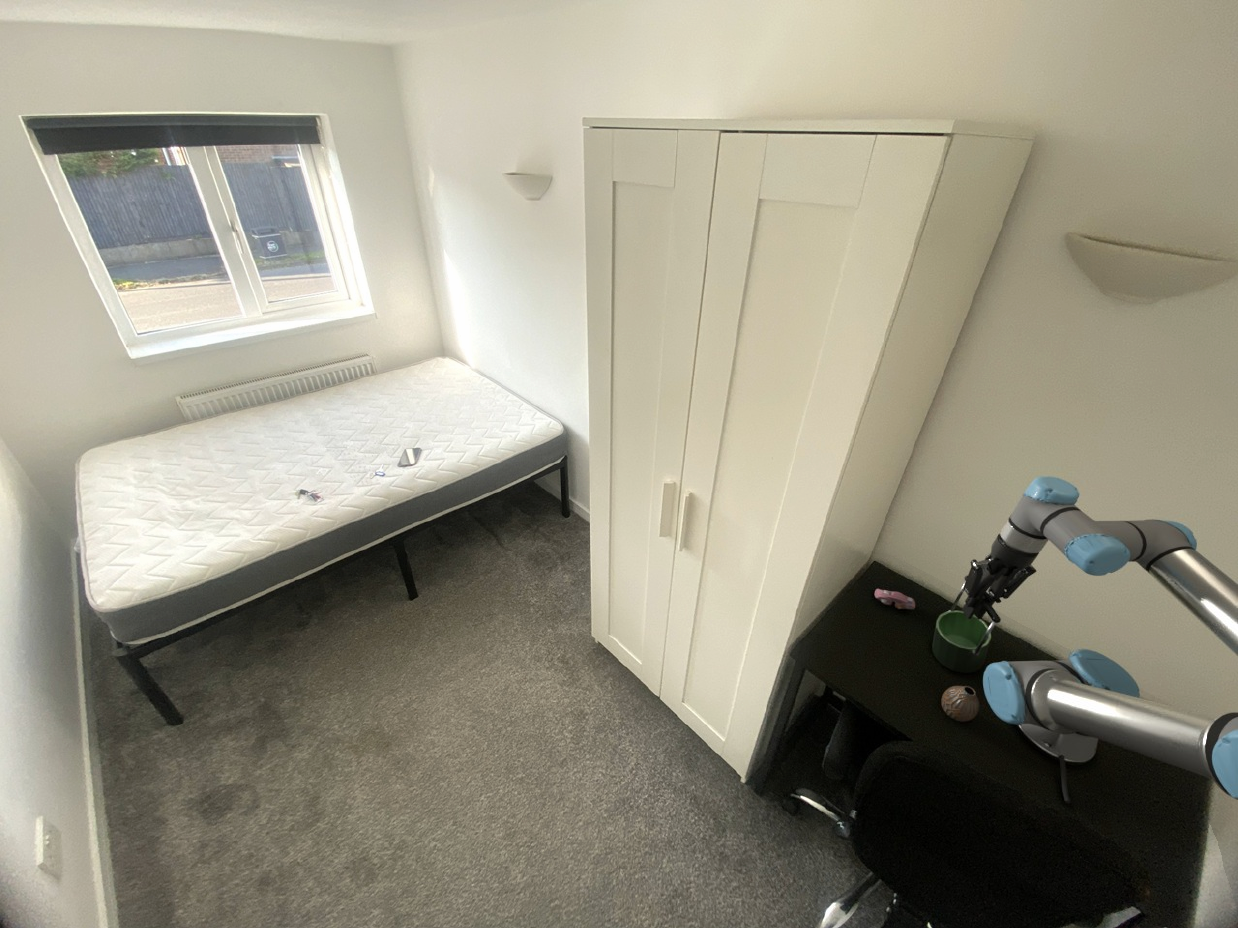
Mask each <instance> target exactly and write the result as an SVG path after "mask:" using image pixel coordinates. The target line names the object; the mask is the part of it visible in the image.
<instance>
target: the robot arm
mask: <svg viewBox="0 0 1238 928" xmlns="http://www.w3.org/2000/svg"><path fill="white" fill-rule="evenodd" d="M1079 498H1080V492H1079V490H1078V488H1077V487H1076V486H1075V485H1074V484H1073V483H1071V482H1069V481H1067V480H1065V479H1062V478H1059V477H1055V476H1050V475H1048V476H1044V475H1043V476H1038V477H1036V478H1034V479H1033V480H1032V482H1031V483H1030V484H1029V486H1027V488H1026V489H1025V491H1023V494H1022V496H1021V497H1020V499H1019V501H1018V502H1017V504H1016V506H1015V508H1014V510H1013V511H1012V513H1011V514H1010V515H1009V517H1008V519H1007V521H1006V522H1005V523H1004V525H1003V527H1002V528H1001V530H1000V533H998V534H997V536H996V538H995V539H994V540H993V542H992V545H991V546H990V547H991V549H990V553H988V555H986V556H984V557H985V558H984V559H983V560H979V561H978V560H977V559H975V558H974V559H971V561H970V570H969V572H968V574H967V575H968V577H967V580H966V582H965V581H964V583H965V585H964V587H963V589H964V592H965V593H966V595H967V597H966V598H965V600H964V603H965V604H964V605H963V607H962V608H961V611H963V612H964V614H965V615H966V617H967V619H971V618H972V617H973V615H975V616H976V617H977V619H981V620H983V617H984V616H985V614H986V613H987V612H986V610H985V609H984V607H983V606H982V604H981V603H982V602H983V600H982V598H981V597H982V596H983V595H985V597H986V598H987V600H988V601H989V603H990V604H991V606H992V607H993V605H994V604H995V603H996V604H1000V603H1002V600H1001V599H1003V600H1007V599H1009V598H1010V597H1011V596H1012V595H1013V594H1014V593H1015V591H1017V590H1018V588H1019V587H1021V585H1022V584H1023V583H1024V582H1025V581H1026V580H1027V579H1028V578H1030V577H1031V576H1032V575H1035V574H1036V573H1037V569H1036V568H1035V567H1034V565H1032V564H1033V563H1034V561H1035V560H1036V559H1037V557H1038V556H1039V554H1040V552H1041V551H1043V549H1044V548H1045V546H1046V545H1047V543H1048V541H1049V542H1050V543H1051V544H1052V545H1054V546H1055V548H1057V549H1058V550H1059V551H1060V552H1061V553H1062V554H1063V555H1064V556H1065V557H1066V559H1067V560H1068V561H1069V562H1071V564H1074V565H1075V566H1077V568H1079V569H1080V570H1081V571H1082V572H1084V573H1085V574H1087V575H1089V576H1094V577H1102V576H1103V577H1104V576H1106V575H1108V574H1113V573H1116V572H1118V571H1119V570H1121V569H1123V567H1125V566H1127V564H1128V563H1131V562H1132V563H1133V562H1134V563H1137V564H1138V565H1139V566H1140V567H1141V568H1142V569H1143V570H1145V571H1146V572H1147V573H1148V574H1149V575H1150V576H1151V577H1152V578H1154V579H1155V580H1156V581H1157V582H1158V583H1159V584H1160V585H1161V586H1162V587H1163V588H1164V589H1165V590H1166V591H1167V592H1169V593H1170V595H1172V597H1174V598H1175V599H1176V600H1177V601H1178V602H1179V603H1180V604H1181V605H1182V606H1183V607H1185V608H1186V609H1187V610H1188V612H1190V613H1191V614H1192V615H1193V616H1194V617H1195V618H1196V619H1197V620H1198V621H1199V622H1201V623H1202V625H1203V626H1205V627H1206V628H1207V629H1208V630H1209V631H1210V632H1211V633H1213V635H1215V636H1216V638H1218V639H1219V640H1220V641H1221V642H1222V643H1223V644H1224V645H1225V646H1226V647H1227V648H1228V649H1230V651H1232V652H1233V653H1234V654H1235V655H1236V656H1237V657H1238V583H1237V582H1236V581H1234V580H1233V579H1232V578H1231V577H1230V576H1228V575H1227V574H1226V573H1225V572H1223V571H1222V570H1221V569H1220V568H1219V567H1217V566H1216V565H1215V564H1213V562H1211V561H1210V560H1209V559H1207V558H1206V557H1205V556H1204V555H1203V554H1201V553H1200V552H1198V551H1197V546H1198V542H1197V538H1196V537H1195V535H1194V532H1193V531H1192V530H1191V529H1190V528H1189V527H1187V526H1186V525H1184V524H1182V523H1181V522H1178V521H1173V520H1162V519H1153V518H1152V519H1139V520H1137V519H1136V520H1094V519H1092V518H1091V517H1090V516H1089V515H1088V514H1087V513H1085V512H1084V511H1082V510H1081V509H1080V508H1079V507H1077V505H1076V503H1077V502H1078V499H1079ZM982 685H983V691H984V696H985V698H986V700H987V703H988V704H989V706H990V708H991V710H992V711H993V713H994V714H995V715H996V716H997V717H998V718H999V719H1000V720H1001V721H1003V722H1005V723H1006V724H1010V725H1014V727H1015V729H1016V730H1017V732H1018V733H1019V734H1020V735H1021V737H1022V738H1023V739H1024V740H1025V741H1026V742H1027V743H1028V744H1029V745H1030V746H1031V747H1032V748H1034V749H1035V750H1036V751H1038V752H1039V753H1040V754H1041V755H1044V756H1045V757H1047V758H1049V759H1050V760H1053V761H1056V762H1058V763H1059V769H1060V779H1061V780H1060V781H1061V790H1062V796H1063V798H1064V802H1065V803H1066V804H1071V798H1070V795H1069V790H1068V778H1067V770H1066V769H1067V768H1066V767H1067V766H1066V765H1068V766H1081V765H1084V764H1086V763H1088V762H1089V761H1090V760H1091V759H1092V758H1093V757H1095V755H1096V752H1097V748H1098V742H1099V740H1100V741H1103V742H1106V743H1108V744H1111V745H1114V746H1117V747H1120V748H1123V749H1126V750H1128V751H1131V752H1133V753H1137V754H1140V755H1142V756H1145V757H1148V758H1151V759H1154V760H1157V761H1160V762H1162V763H1165V764H1168V765H1171V766H1174V767H1177V768H1179V769H1182V770H1185V771H1188V772H1191V773H1194V774H1197V775H1199V776H1203V777H1205V778H1208V779H1211V780H1212V781H1213V782H1214V783H1215V785H1216V786H1217V787H1218V788H1219V789H1220V790H1221V791H1222V792H1223V793H1225V794H1226V795H1228V796H1229V797H1231V798H1232V799H1235V800H1236V801H1238V711H1228V712H1224V713H1221V714H1219V715H1217V716H1216V717H1215V716H1212V715H1207V714H1203V713H1200V712H1196V711H1191V710H1188V709H1183V708H1180V707H1176V706H1173V705H1172V706H1171V705H1168V704H1164V703H1160V702H1156V701H1152V700H1148V699H1144V698H1141V693H1140V688H1139V686H1138V683H1137V681H1136V680H1135V679H1134V678H1133V676H1132V675H1131V674H1130V673H1129V671H1127V670H1126V669H1125V668H1124V667H1122V666H1121V665H1120V664H1118V662H1116V661H1115V660H1113V659H1111V658H1109V657H1107V656H1106V655H1104V654H1102V653H1100V652H1097V651H1094V650H1092V649H1087V648H1078V649H1075V650H1074V651H1072V652H1070V653H1069V654H1068V657H1067V658H1065V659H1062V660H1028V661H1027V660H1021V661H1018V660H1017V661H1007V660H1002V661H999V662H993V663H990V664H989V665H987V666H986V668H985V670H984V672H983V676H982Z"/></svg>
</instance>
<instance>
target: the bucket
mask: <svg viewBox="0 0 1238 928" xmlns="http://www.w3.org/2000/svg"><path fill="white" fill-rule="evenodd" d="M967 577H968V574H967V575H965V576H964V583H963V585H962V586H961V588H960V590H959V592H958V594H957V596H956V597H955V600H954V602H953V603H952V605H951V607H950V609H949V610H948V611H945V612H943V613H941V614H940V615H939V616H938V617H937V619H936V622H935V628H934V635H933V639H932V646H931V647H932V648H931V649H932V653H933V655H934V657H935V659H936V660H937V661H938V662H939V663H940V665H942V666H944V667H945V668H946V669H949V670H951V671H953V672H957V673H960V674H961V673H962V674H970V673H976V672H977V671H979V670H981V669H982V668H983V666H984V664H985V662H986V658H987V654H988V650H989V647H990V643H991V640H992V633H991V632H992V631H993V629H994V628H995V626H996V624H999V623H1001V621H1002V619H1001V617H1000V616H999V614H998V612H997V611H996V610H995V609H994V607H993V605H992V606H991V604H990V603H989V601H988V600H987V598H986V597H985V595H983V596H982V597H981V598H982V600H983V602H982V603H981V604H982V606H983V607H984V609H985V610H986V613H987V615H988V616H989V618H990V619H991V623H990V625H989V626H988V624H987V623H986V621H984V620H983V619H977V617H976V616H975V614H974V615H973V617H972V618H971V619H967V617H966V615H965V614H964V612H963V611H962V610H958V609H957V610H955V609H956V607H957V605H958V603H959V601H960V599H961V598H962V596H963V594H964V592H965V590H964V589H963V587H964V585H965V582H966V580H967Z"/></svg>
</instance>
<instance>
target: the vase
mask: <svg viewBox="0 0 1238 928" xmlns="http://www.w3.org/2000/svg"><path fill="white" fill-rule="evenodd" d="M940 701H941V702H940V703H941V707H942V710H943V712H944V713H945V714H946V715H947V716H948V717H949V718H950V719H952V720H954V721H957V722H961V723H965V722H969V721H971V720H973V719H974V718H975V717H976V716H977V715H978V713H979V711H980V701H979V699H978V696H977V692H976V691H975V689H974V688H973V687H971V686H970V685H964V686H963V685H953V686H950V687H948V688H947V689H945V691H944V692H943V694H942V696H941V700H940Z"/></svg>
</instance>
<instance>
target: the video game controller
mask: <svg viewBox="0 0 1238 928" xmlns="http://www.w3.org/2000/svg"><path fill="white" fill-rule="evenodd" d="M874 597H875V598H876V599H877V600H878V601H879V602H881V603H882V604H883V605H887V606H891V605H892V604H893V603H894V607H895V608H897V609H898V610H904V609H906V610H915V608H916V602H915V599H914V598H912V597H910V596H907V595H905V594H904V593H902V592H899V591H891V590H886V589H880V588H876V589H875V591H874Z"/></svg>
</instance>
